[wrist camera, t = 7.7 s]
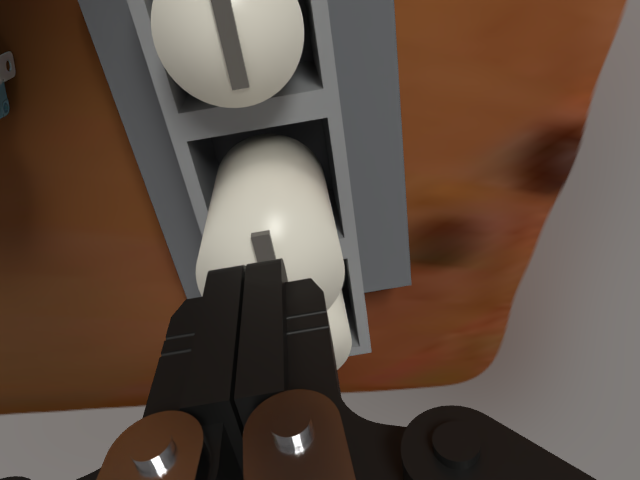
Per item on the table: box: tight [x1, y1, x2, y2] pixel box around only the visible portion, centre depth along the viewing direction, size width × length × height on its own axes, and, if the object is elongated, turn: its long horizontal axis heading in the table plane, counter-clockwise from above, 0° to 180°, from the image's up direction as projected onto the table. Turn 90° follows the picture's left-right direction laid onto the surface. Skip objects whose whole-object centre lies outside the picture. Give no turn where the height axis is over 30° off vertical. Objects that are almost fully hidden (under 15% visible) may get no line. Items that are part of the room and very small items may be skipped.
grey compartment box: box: [78, 0, 411, 356], centre depth 22 cm, size 18×12×8 cm, turn 8°
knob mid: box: [196, 134, 345, 310], centre depth 17 cm, size 4×4×6 cm
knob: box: [151, 0, 304, 108], centre depth 16 cm, size 4×4×6 cm
